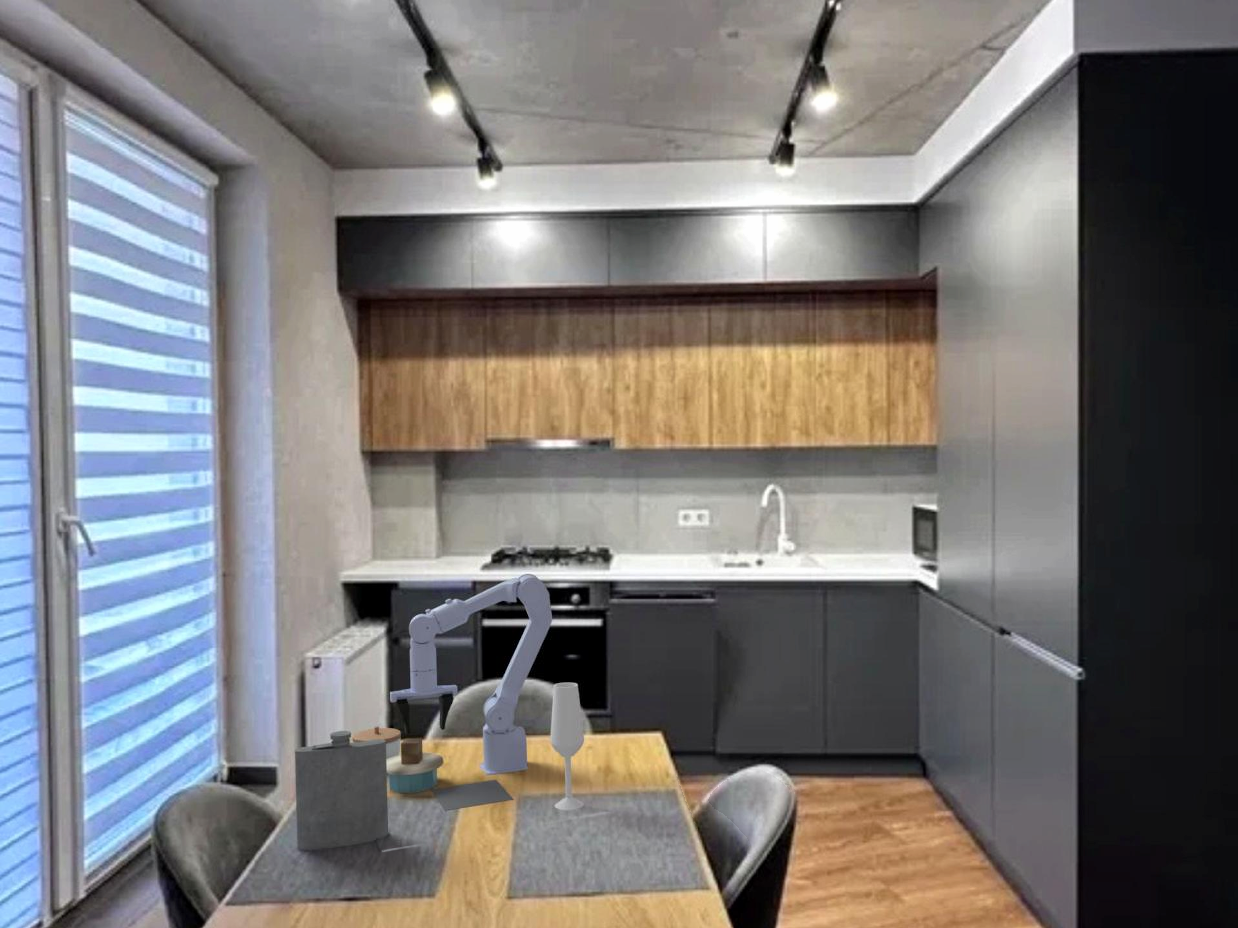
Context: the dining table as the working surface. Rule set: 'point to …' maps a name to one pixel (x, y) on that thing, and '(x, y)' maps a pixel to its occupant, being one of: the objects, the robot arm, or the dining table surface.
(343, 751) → the hip flask
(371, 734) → the lidded jar
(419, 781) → the bowl
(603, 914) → the dining table surface
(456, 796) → the mat
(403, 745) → the lid
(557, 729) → the champagne flute
